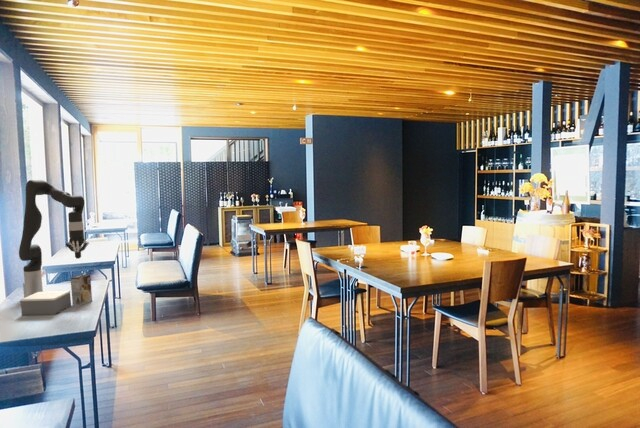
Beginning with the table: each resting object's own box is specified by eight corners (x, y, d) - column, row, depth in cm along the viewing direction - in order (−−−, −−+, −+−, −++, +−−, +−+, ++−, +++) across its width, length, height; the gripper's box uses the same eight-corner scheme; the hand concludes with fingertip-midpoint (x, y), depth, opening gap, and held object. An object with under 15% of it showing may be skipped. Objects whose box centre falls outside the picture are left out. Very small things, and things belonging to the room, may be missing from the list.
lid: (20, 301, 239) (20, 299, 239) (38, 293, 255) (38, 291, 255) (54, 300, 239) (54, 298, 239) (70, 292, 255) (70, 290, 255)
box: (21, 315, 239) (20, 301, 239) (39, 307, 255) (38, 293, 255) (55, 314, 240) (54, 300, 239) (71, 306, 256) (70, 292, 255)
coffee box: (83, 300, 268) (81, 274, 267) (92, 300, 267) (90, 274, 265) (72, 304, 259) (70, 277, 258) (81, 305, 258) (79, 278, 256)
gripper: (90, 228, 262) (92, 256, 264) (68, 228, 262) (70, 257, 264) (84, 229, 255) (86, 259, 256) (61, 230, 255) (63, 259, 256)
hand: (78, 258), depth 260 cm, fingers closed
